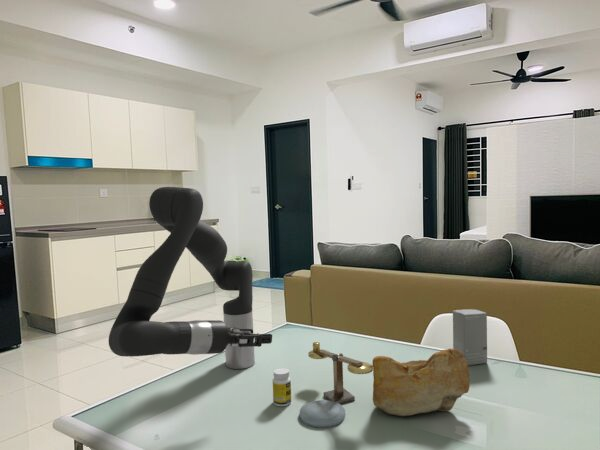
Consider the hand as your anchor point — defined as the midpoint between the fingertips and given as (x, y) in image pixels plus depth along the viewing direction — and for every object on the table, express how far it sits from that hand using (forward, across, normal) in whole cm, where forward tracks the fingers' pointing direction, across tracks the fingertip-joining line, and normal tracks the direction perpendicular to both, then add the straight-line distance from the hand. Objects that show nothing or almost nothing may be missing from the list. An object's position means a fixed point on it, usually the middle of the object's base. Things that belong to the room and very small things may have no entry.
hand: (261, 335), depth 111 cm
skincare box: (+67, -19, +6) cm, 70 cm away
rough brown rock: (+33, -24, +14) cm, 43 cm away
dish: (+12, -12, +17) cm, 24 cm away
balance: (+21, -8, +15) cm, 27 cm away
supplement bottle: (+9, 0, +17) cm, 20 cm away
